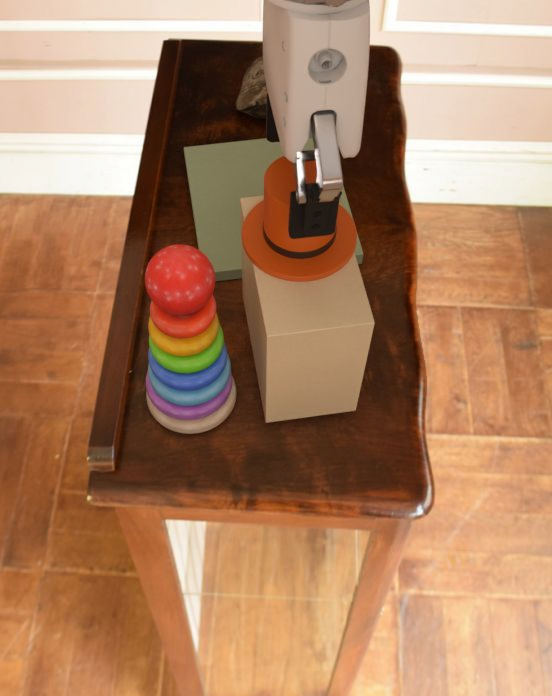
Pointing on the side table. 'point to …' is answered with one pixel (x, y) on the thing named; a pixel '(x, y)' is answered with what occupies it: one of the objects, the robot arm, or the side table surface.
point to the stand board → (231, 196)
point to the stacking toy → (186, 344)
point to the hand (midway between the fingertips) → (298, 183)
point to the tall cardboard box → (306, 337)
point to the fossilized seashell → (253, 91)
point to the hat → (273, 237)
